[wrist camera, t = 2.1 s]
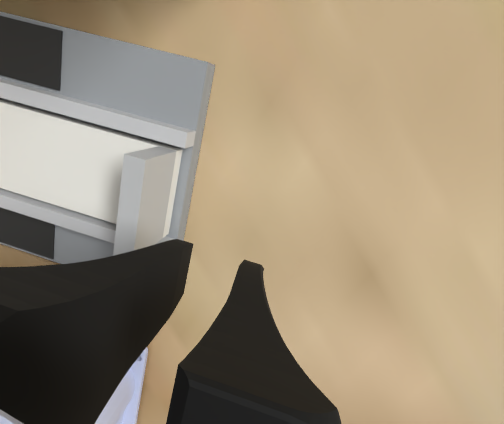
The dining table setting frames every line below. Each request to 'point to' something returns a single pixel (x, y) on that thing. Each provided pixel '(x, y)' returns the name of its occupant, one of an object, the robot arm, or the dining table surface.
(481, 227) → the dining table surface
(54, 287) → the robot arm
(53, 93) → the track
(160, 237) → the sled
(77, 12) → the dining table surface
